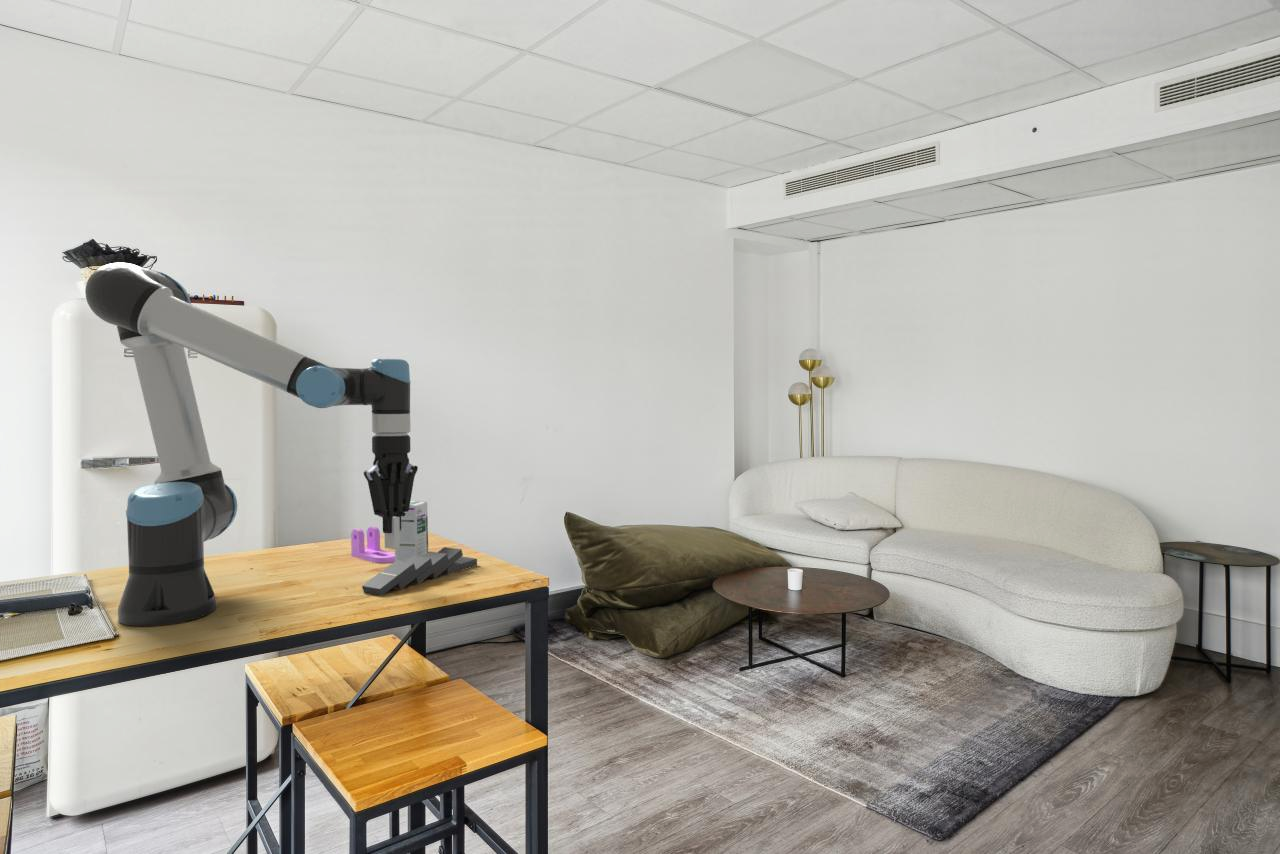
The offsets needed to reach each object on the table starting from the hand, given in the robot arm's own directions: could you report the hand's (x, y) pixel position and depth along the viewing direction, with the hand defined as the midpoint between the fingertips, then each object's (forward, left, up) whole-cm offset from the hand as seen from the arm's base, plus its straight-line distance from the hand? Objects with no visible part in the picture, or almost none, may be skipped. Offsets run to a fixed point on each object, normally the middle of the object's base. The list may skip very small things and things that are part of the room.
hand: (392, 547), depth 158 cm
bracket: (-24, +18, -9) cm, 31 cm away
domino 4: (0, +10, -8) cm, 12 cm away
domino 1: (0, -6, -8) cm, 10 cm away
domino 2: (0, 0, -8) cm, 8 cm away
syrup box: (-12, +18, -9) cm, 23 cm away
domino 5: (0, +14, -8) cm, 16 cm away
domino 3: (0, +4, -8) cm, 9 cm away
